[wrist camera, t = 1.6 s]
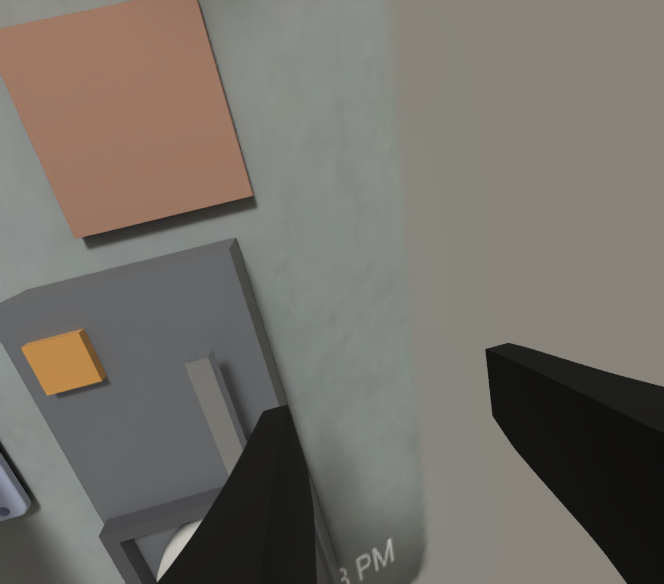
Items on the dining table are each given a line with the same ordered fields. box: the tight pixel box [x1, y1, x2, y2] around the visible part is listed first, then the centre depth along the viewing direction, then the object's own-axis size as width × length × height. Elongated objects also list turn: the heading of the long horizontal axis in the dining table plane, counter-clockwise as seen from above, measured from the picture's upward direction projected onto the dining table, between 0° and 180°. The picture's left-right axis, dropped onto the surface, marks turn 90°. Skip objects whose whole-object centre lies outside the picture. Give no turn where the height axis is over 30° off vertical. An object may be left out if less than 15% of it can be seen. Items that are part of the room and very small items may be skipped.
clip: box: [184, 347, 248, 479], centre depth 16 cm, size 1×14×2 cm, turn 13°
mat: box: [0, 0, 254, 239], centre depth 14 cm, size 7×7×1 cm
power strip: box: [0, 238, 341, 584], centre depth 17 cm, size 9×20×3 cm, turn 13°
